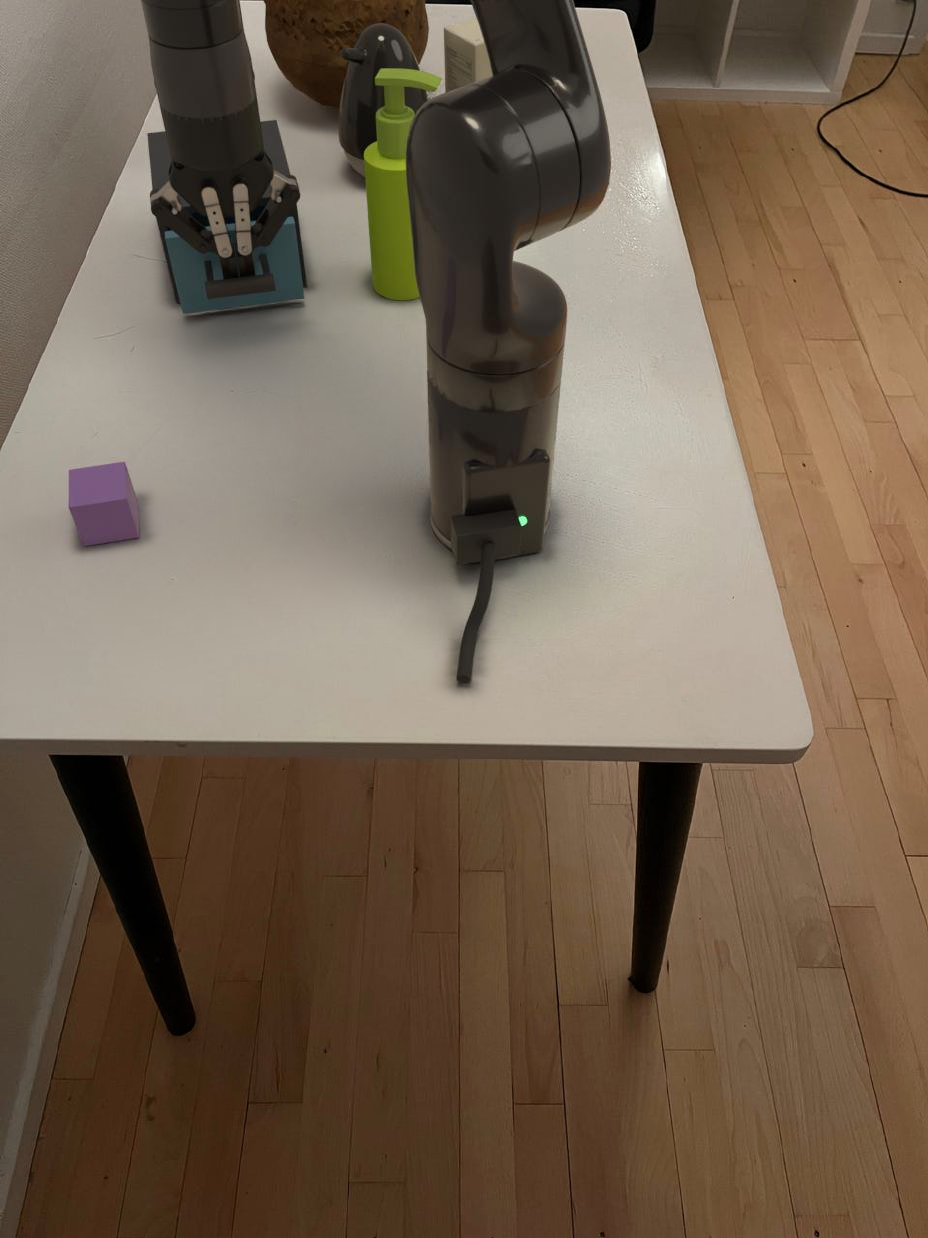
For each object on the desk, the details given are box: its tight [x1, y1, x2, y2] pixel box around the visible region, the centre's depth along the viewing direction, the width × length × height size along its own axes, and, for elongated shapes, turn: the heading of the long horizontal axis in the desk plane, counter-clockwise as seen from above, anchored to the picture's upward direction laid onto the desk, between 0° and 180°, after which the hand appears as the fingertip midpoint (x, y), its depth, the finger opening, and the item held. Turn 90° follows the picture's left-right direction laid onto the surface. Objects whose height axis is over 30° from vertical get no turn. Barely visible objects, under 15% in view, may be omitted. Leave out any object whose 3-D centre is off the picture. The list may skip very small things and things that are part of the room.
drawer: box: [165, 205, 305, 315], centre depth 99 cm, size 18×11×8 cm, turn 13°
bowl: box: [263, 0, 430, 109], centre depth 123 cm, size 19×19×15 cm
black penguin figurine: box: [337, 23, 429, 178], centre depth 112 cm, size 10×10×15 cm
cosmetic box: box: [443, 18, 492, 93], centre depth 117 cm, size 6×4×12 cm
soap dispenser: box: [364, 69, 443, 301], centre depth 96 cm, size 6×7×20 cm
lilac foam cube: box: [68, 461, 140, 547], centre depth 81 cm, size 4×4×4 cm
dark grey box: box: [146, 119, 308, 304], centre depth 103 cm, size 15×13×10 cm
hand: (241, 286), depth 95 cm, fingers closed
